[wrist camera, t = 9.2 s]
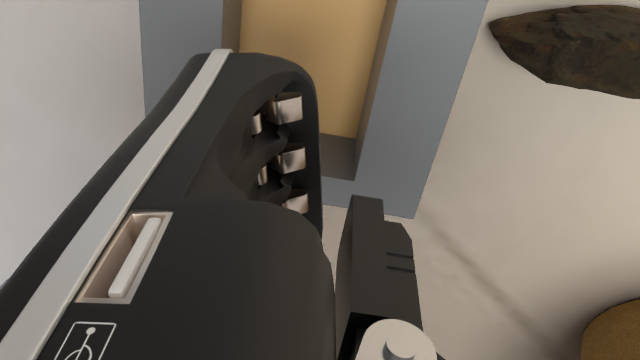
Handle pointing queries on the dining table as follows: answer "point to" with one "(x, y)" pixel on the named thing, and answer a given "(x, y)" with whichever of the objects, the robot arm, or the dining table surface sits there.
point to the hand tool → (577, 46)
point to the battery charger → (191, 232)
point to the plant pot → (613, 334)
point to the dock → (339, 76)
